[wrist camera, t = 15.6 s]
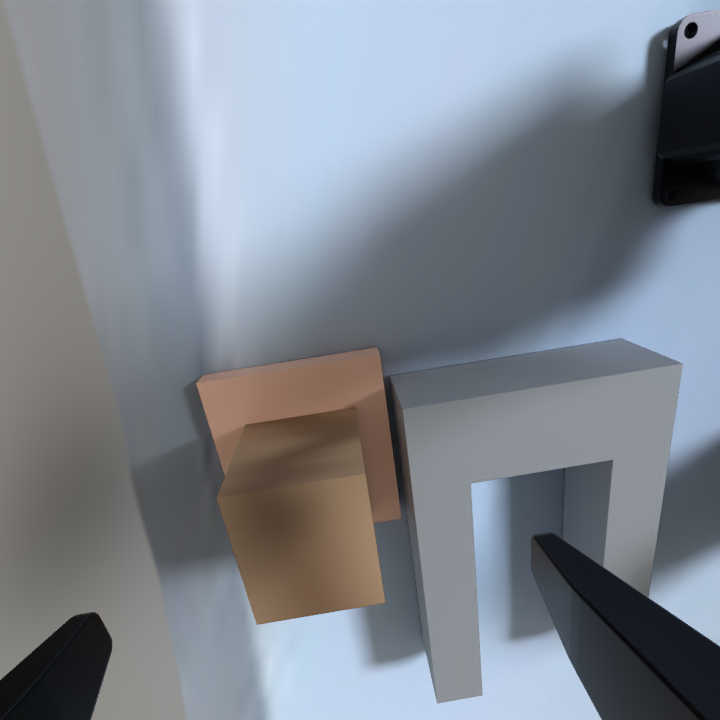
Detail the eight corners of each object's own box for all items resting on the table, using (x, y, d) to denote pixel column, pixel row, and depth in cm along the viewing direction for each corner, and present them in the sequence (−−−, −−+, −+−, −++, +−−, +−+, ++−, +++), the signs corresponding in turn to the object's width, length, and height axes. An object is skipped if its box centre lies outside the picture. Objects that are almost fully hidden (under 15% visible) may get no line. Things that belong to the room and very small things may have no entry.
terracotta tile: (377, 347, 18) (380, 354, 17) (398, 505, 21) (401, 518, 20) (202, 374, 18) (196, 383, 17) (249, 530, 21) (246, 544, 20)
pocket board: (621, 338, 19) (682, 363, 16) (597, 608, 25) (637, 667, 22) (389, 375, 19) (402, 409, 15) (422, 639, 25) (437, 703, 22)
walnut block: (355, 407, 18) (364, 473, 13) (372, 513, 20) (385, 602, 15) (245, 424, 18) (216, 497, 13) (273, 529, 20) (257, 624, 15)
